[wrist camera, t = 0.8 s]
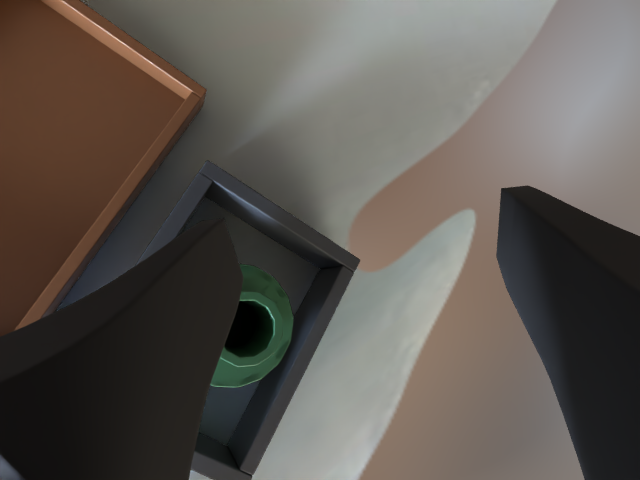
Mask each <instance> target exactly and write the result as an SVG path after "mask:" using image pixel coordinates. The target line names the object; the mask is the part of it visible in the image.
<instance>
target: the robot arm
mask: <svg viewBox="0 0 640 480" xmlns="http://www.w3.org/2000/svg"><path fill="white" fill-rule="evenodd" d="M497 260H498V263H499V267H500V270H501V273H502V276H503V279H504V282H505V285H506V288H507V290H508V292H509V295H510V297H511V299H512V301H513V303H514V305H515V307H516V309H517V311H518V313H519V315H520V317H521V319H522V321H523V323H524V325H525V327H526V329H527V331H528V333H529V335H530V337H531V339H532V341H533V343H534V345H535V347H536V349H537V351H538V353H539V355H540V357H541V359H542V361H543V364H544V366H545V368H546V370H547V373H548V375H549V377H550V380H551V383H552V385H553V388H554V391H555V394H556V396H557V399H558V402H559V405H560V407H561V410H562V413H563V415H564V418H565V421H566V424H567V427H568V430H569V433H570V436H571V439H572V442H573V445H574V448H575V451H576V454H577V457H578V460H579V463H580V466H581V469H582V472H583V475H584V478H585V480H640V236H638V235H635V234H633V233H631V232H628V231H626V230H623V229H621V228H619V227H616V226H614V225H612V224H609V223H607V222H605V221H603V220H600V219H598V218H596V217H594V216H592V215H590V214H588V213H585V212H583V211H581V210H579V209H577V208H575V207H573V206H571V205H569V204H567V203H565V202H563V201H561V200H559V199H557V198H555V197H552V196H551V195H549V194H546V193H544V192H542V191H540V190H538V189H536V188H533V187H530V186H520V187H511V188H502V189H501V201H500V214H499V229H498V242H497ZM243 278H244V277H243V274H242V271H241V268H240V265H239V262H238V259H237V256H236V253H235V250H234V247H233V244H232V241H231V238H230V235H229V232H228V229H227V226H226V223H225V220H224V218H221V219H212V220H203V221H201V222H199V223H197V224H196V225H194V226H192V227H191V228H189V229H188V230H186V231H185V232H183V233H182V234H180V235H179V236H178V237H176V238H175V239H173V240H172V241H170V242H169V243H168V244H166V245H165V246H163V247H162V248H161V249H159V250H158V251H156V252H155V253H154V254H152V255H151V256H149V257H148V258H147V259H145V260H143V261H142V262H140V263H139V264H137V265H136V266H134V267H133V268H131V269H130V270H128V271H127V272H125V273H124V274H122V275H121V276H119V277H118V278H116V279H115V280H113V281H111V282H110V283H108V284H107V285H105V286H103V287H101V288H100V289H98V290H96V291H95V292H93V293H91V294H89V295H87V296H85V297H84V298H82V299H80V300H78V301H76V302H74V303H73V304H71V305H69V306H67V307H65V308H62V309H60V310H58V311H56V312H54V313H52V314H50V315H48V316H46V317H44V318H41V319H39V320H37V321H35V322H33V323H31V324H29V325H27V326H24V327H22V328H20V329H17V330H15V331H12V332H10V333H8V334H5V335H3V336H1V337H0V480H189V475H190V469H191V464H192V459H193V455H194V450H195V445H196V441H197V436H198V431H199V427H200V423H201V419H202V414H203V410H204V406H205V402H206V398H207V394H208V390H209V387H210V384H211V381H212V378H213V375H214V372H215V369H216V367H217V364H218V361H219V358H220V356H221V353H222V350H223V348H224V345H225V342H226V339H227V337H228V334H229V331H230V328H231V326H232V323H233V320H234V317H235V314H236V311H237V308H238V304H239V300H240V295H241V290H242V284H243Z"/></svg>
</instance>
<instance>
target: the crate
mask: <svg viewBox="0 0 640 480" xmlns="http://www.w3.org/2000/svg"><path fill="white" fill-rule="evenodd" d="M205 197H207V198H208V199H210V200H211V201H213V202H215V203H216V204H218V205H219V206H221V207H223V208H224V209H226V210H227V211H229V212H231V213H232V214H234V215H235V216H237V217H238V218H240V219H242V220H243V221H245V222H246V223H248V224H250V225H251V226H253V227H254V228H256V229H258V230H259V231H261V232H262V233H264V234H265V235H267V236H269V237H270V238H272V239H273V240H275V241H277V242H278V243H280V244H281V245H283V246H285V247H286V248H288V249H289V250H291V251H293V252H294V253H296V254H297V255H299V256H300V257H302V258H304V259H305V260H307V261H308V262H310V263H312V264H313V265H315V266H316V267H318V268H320V270H319V272H318V274H317V275H316V277H315V279H314V281H313V283H312V285H311V287H310V289H309V291H308V292H307V294H306V296H305V298H304V300H303V302H302V304H301V306H300V308H299V310H298V311H297V313H296V315H295V317H294V319H293V327H292V336H291V341H290V344H289V346H288V348H287V350H286V352H285V354H284V355H283V357H282V359H281V361H280V362H279V364H278V365H277V366H276V367H274V368H273V369H272V370H271V371H270V372H269V373H268V374H267V375H265V376H264V377H263V378H262V380H261V382H260V383H259V385H258V387H257V389H256V391H255V393H254V395H253V397H252V399H251V400H250V402H249V404H248V406H247V408H246V410H245V412H244V414H243V416H242V418H241V419H240V421H239V423H238V425H237V427H236V429H235V431H234V433H233V435H232V437H231V438H230V440H229V442H228V446H227V445H224V444H222V443H220V442H218V441H216V440H214V439H212V438H209V437H207V436H205V435H203V434H201V433H199V432H198V436H197V441H196V445H195V450H194V455H193V459H192V464H191V469H190V470H193V471H195V472H197V473H199V474H202V475H204V476H206V477H209V478H211V479H213V480H251V479H252V475H253V474H254V473H255V471H256V469H257V467H258V465H259V463H260V461H261V459H262V457H263V455H264V453H265V451H266V449H267V447H268V445H269V443H270V441H271V439H272V437H273V435H274V433H275V431H276V429H277V427H278V425H279V423H280V421H281V419H282V417H283V415H284V413H285V411H286V409H287V407H288V405H289V403H290V401H291V399H292V397H293V395H294V393H295V391H296V389H297V387H298V385H299V383H300V381H301V379H302V377H303V375H304V373H305V371H306V368H307V366H308V364H309V362H310V360H311V358H312V356H313V354H314V352H315V350H316V348H317V346H318V344H319V342H320V340H321V338H322V336H323V334H324V332H325V330H326V328H327V326H328V324H329V322H330V320H331V318H332V316H333V314H334V312H335V310H336V308H337V306H338V304H339V302H340V300H341V298H342V296H343V294H344V292H345V290H346V288H347V286H348V284H349V282H350V280H351V278H352V276H353V274H354V272H355V270H356V268H357V266H358V264H359V262H360V259H358V258H357V257H355V256H354V255H352V254H351V253H349V252H348V251H346V250H345V249H343V248H342V247H340V246H339V245H337V244H335V243H334V242H332V241H331V240H329V239H328V238H326V237H325V236H323V235H322V234H320V233H319V232H317V231H316V230H314V229H313V228H311V227H310V226H308V225H306V224H305V223H303V222H302V221H300V220H299V219H297V218H296V217H294V216H293V215H291V214H290V213H288V212H287V211H285V210H284V209H282V208H281V207H279V206H277V205H276V204H274V203H273V202H271V201H270V200H268V199H267V198H265V197H264V196H262V195H261V194H259V193H258V192H256V191H255V190H253V189H252V188H250V187H248V186H247V185H245V184H244V183H242V182H241V181H239V180H238V179H236V178H235V177H233V176H232V175H230V174H229V173H227V172H226V171H224V170H223V169H221V168H219V167H218V166H216V165H215V164H213V163H212V162H210V161H209V160H207V161H206V162H205V164H204V165H203V167H202V168H201V170H200V171H199V173H198V174H197V175H196V177H195V178H194V180H193V181H192V183H191V184H190V186H189V187H188V189H187V190H186V191H185V193H184V194H183V196H182V197H181V199H180V200H179V202H178V203H177V205H176V206H175V208H174V209H173V211H172V212H171V213H170V215H169V216H168V218H167V219H166V221H165V222H164V224H163V225H162V227H161V228H160V230H159V231H158V233H157V234H156V235H155V237H154V238H153V240H152V241H151V243H150V244H149V246H148V247H147V249H146V250H145V252H144V253H143V255H142V256H141V257H140V259H139V260H138V262H137V263H136V265H137V264H139V263H140V262H142V261H143V260H145V259H147V258H148V257H149V256H151V255H152V254H154V253H155V252H156V251H158V250H159V249H161V248H162V247H163V246H165V245H166V244H168V243H169V242H170V241H172V240H173V239H175V238H176V237H178V236H179V235H180V234H181V232H182V231H183V229H184V228H185V226H186V225H187V223H188V222H189V220H190V219H191V217H192V216H193V214H194V213H195V211H196V210H197V208H198V207H199V205H200V204H201V202H202V201H203V199H204V198H205ZM136 265H135V266H136Z"/></svg>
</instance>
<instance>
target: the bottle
mask: <svg viewBox="0 0 640 480" xmlns="http://www.w3.org/2000/svg"><path fill="white" fill-rule="evenodd" d="M239 265H240V268H241V271H242V274H243V277H244V278H243V284H242V290H241V295H240V300H239V304H238V308H237V311H236V314H235V317H234V320H233V323H232V326H231V328H230V331H229V334H228V337H227V339H226V342H225V345H224V348H223V350H222V353H221V356H220V358H219V361H218V364H217V367H216V369H215V372H214V375H213V378H212V381H211V384H210V385H211V386H214V387H234V388H237V387H241V386H244V385H247V384H249V383H252V382H255V381H258V380H260V379H262V378H263V377H264V376H265V375H267V374H268V373H269V372H270V371H271V370H272V369H273V368H274V367H276V366H277V365H278V364H279V362H280V361H281V359H282V357H283V355H284V354H285V352H286V350H287V348H288V346H289V344H290V341H291V336H292V327H293V314H292V310H291V306H290V302H289V298H288V296H287V294H286V293H285V291H284V290H283V289H282V287H281V286H280V284H279V283H278V282H277V280H276V279H275V278H274V277H272V276H271V275H269V274H268V273H266V272H264V271H263V270H261V269H259V268H258V267H256V266H252V265H245V264H239Z"/></svg>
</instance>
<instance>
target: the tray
mask: <svg viewBox="0 0 640 480" xmlns="http://www.w3.org/2000/svg"><path fill="white" fill-rule="evenodd" d="M206 92H207V90H206V89H205V88H204V87H202V86H201V85H199V84H198V83H197V82H195V81H194V80H192V79H191V78H189V77H188V76H187V75H185V74H184V73H182V72H181V71H179V70H178V69H177V68H175V67H174V66H172V65H171V64H170V63H168V62H167V61H165V60H164V59H162V58H161V57H160V56H158V55H157V54H155V53H154V52H152V51H151V50H150V49H148V48H147V47H145V46H144V45H142V44H141V43H140V42H138V41H137V40H135V39H134V38H133V37H131V36H130V35H128V34H127V33H125V32H124V31H123V30H121V29H120V28H118V27H117V26H115V25H114V24H113V23H111V22H110V21H108V20H107V19H106V18H104V17H103V16H101V15H100V14H98V13H97V12H96V11H94V10H93V9H91V8H90V7H88V6H87V5H86V4H84V3H83V2H81V1H80V0H0V337H1V336H3V335H5V334H8V333H10V332H12V331H15V330H17V329H20V328H22V327H24V326H27V325H29V324H31V323H33V322H35V321H37V320H39V319H41V318H44V317H46V316H48V315H50V314H52V313H54V312H55V310H56V309H57V308H58V306H59V305H60V303H61V302H62V301H63V299H64V298H65V296H66V295H67V294H68V292H69V291H70V289H71V288H72V287H73V285H74V284H75V283H76V281H77V280H78V278H79V277H80V276H81V274H82V273H83V271H84V270H85V269H86V267H87V266H88V265H89V263H90V262H91V260H92V259H93V258H94V256H95V255H96V253H97V252H98V251H99V249H100V248H101V246H102V245H103V244H104V242H105V241H106V240H107V238H108V237H109V235H110V234H111V233H112V231H113V230H114V228H115V227H116V226H117V224H118V223H119V221H120V220H121V219H122V217H123V216H124V215H125V213H126V212H127V210H128V209H129V208H130V206H131V205H132V203H133V202H134V201H135V199H136V198H137V197H138V195H139V194H140V192H141V191H142V190H143V188H144V187H145V185H146V184H147V183H148V181H149V180H150V178H151V177H152V176H153V174H154V173H155V172H156V170H157V169H158V167H159V166H160V165H161V163H162V162H163V160H164V159H165V158H166V156H167V155H168V153H169V152H170V151H171V149H172V148H173V147H174V145H175V144H176V142H177V141H178V140H179V138H180V137H181V135H182V134H183V133H184V131H185V130H186V129H187V127H188V126H189V124H190V123H191V122H192V120H193V119H194V117H195V116H196V115H197V113H198V112H199V110H200V109H201V108H202V106H203V104H204V100H205V96H206Z"/></svg>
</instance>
